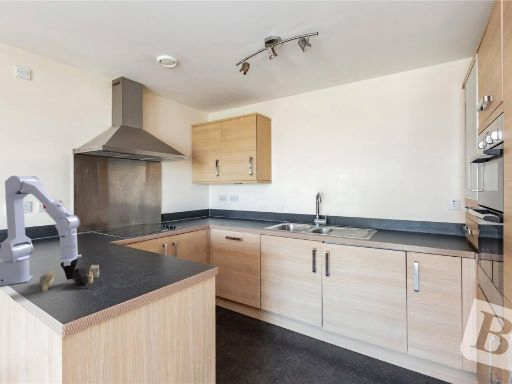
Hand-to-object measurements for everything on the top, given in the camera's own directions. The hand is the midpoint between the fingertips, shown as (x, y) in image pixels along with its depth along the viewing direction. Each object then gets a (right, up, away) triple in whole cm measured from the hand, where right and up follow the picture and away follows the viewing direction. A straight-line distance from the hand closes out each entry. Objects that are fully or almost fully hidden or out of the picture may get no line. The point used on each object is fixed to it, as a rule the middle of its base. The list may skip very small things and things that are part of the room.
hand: (70, 278), depth 110 cm
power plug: (+7, -2, -3) cm, 8 cm away
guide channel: (-1, -1, +2) cm, 3 cm away
